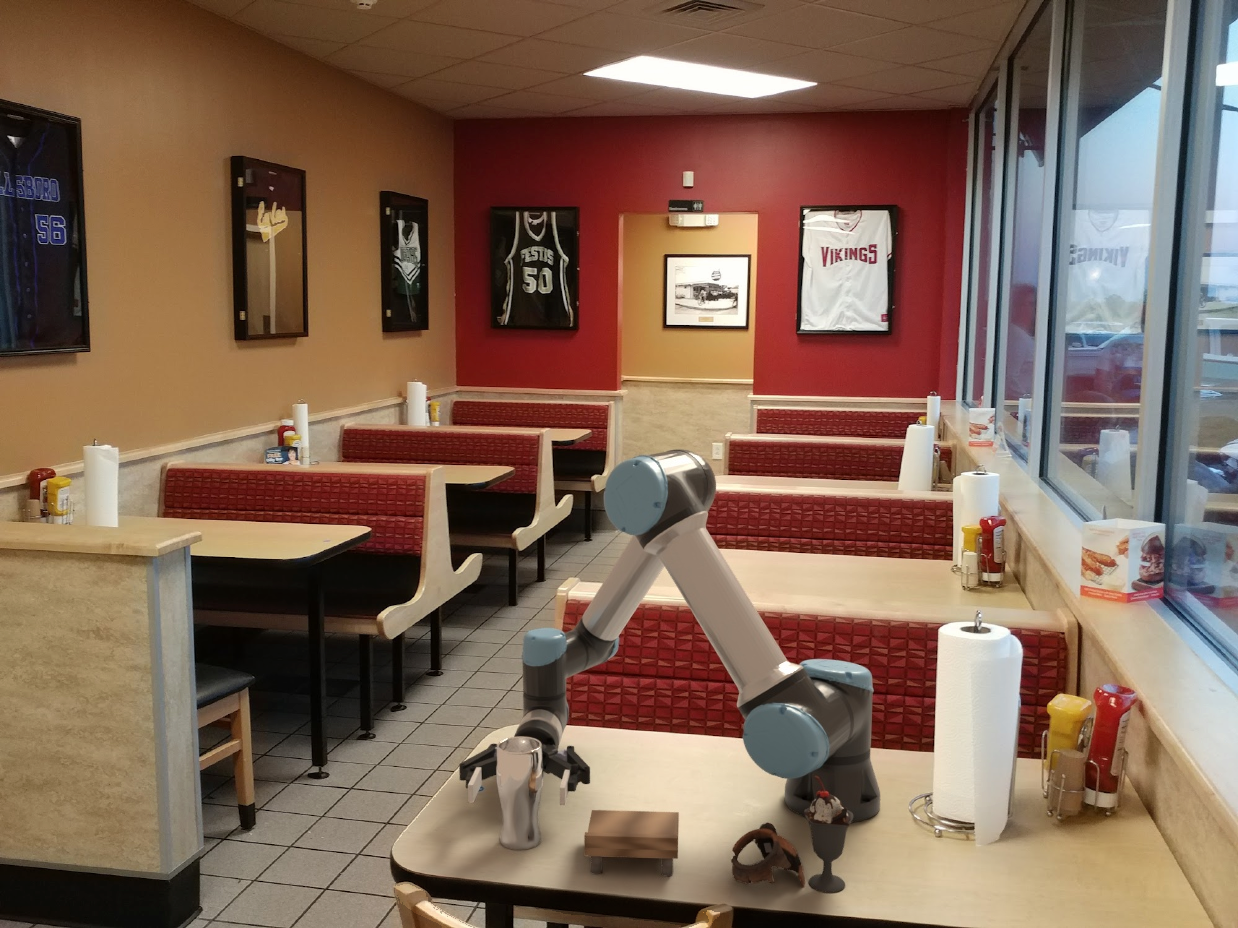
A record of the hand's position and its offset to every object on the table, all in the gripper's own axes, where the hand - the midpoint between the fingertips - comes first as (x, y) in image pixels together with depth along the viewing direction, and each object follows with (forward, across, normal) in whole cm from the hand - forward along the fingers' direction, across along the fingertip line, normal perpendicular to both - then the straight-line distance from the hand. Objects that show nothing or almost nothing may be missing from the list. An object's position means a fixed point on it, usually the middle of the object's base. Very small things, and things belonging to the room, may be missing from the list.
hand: (516, 795), depth 162 cm
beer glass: (-2, 0, -8) cm, 8 cm away
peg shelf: (+2, -17, -8) cm, 19 cm away
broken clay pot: (+7, -36, -8) cm, 38 cm away
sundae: (+8, -44, -8) cm, 46 cm away
